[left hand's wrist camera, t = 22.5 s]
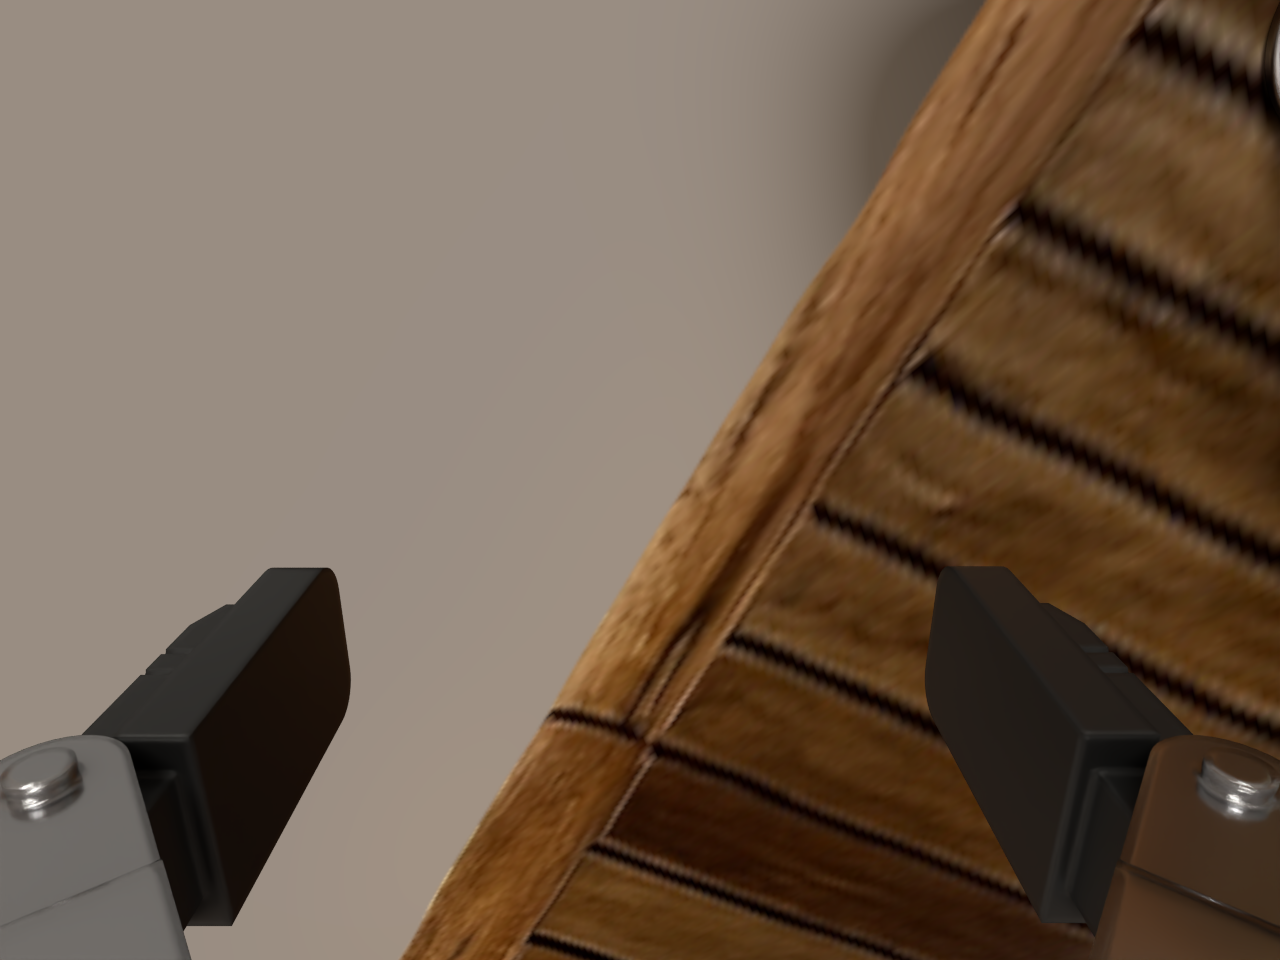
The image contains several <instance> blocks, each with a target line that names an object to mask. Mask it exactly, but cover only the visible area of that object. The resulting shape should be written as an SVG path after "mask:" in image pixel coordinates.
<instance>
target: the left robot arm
mask: <svg viewBox="0 0 1280 960" xmlns="http://www.w3.org/2000/svg"><path fill="white" fill-rule="evenodd" d="M1265 76H1266V84H1267V89H1268V93H1269V96H1270V99H1271V102H1272V105H1273V107H1274V109H1275V111H1276V113H1277V115H1278V116H1279V118H1280V3H1279V5H1278V8H1277V10H1276V12H1275V15H1274V18H1273V21H1272V24H1271V27H1270V31H1269V35H1268V39H1267V46H1266V53H1265ZM350 686H351V673H350V665H349V658H348V650H347V644H346V637H345V629H344V622H343V615H342V608H341V601H340V594H339V587H338V582H337V579H336V576H335V574H334V572H333V571H332V570H331V569H330V568H270V569H268V570H267V571H265V572H264V574H263V575H262V576H261V577H260V578H259V579H258V580H257V581H256V582H255V583H254V584H253V585H252V586H251V587H250V589H249V590H248V591H247V592H246V593H245V594H244V595H243V596H242V597H241V598H240V599H239V600H238V601H237V603H236V604H235V605H225V606H223V607H221V608H219V609H218V610H216V611H214V612H212V613H211V614H209V615H207V616H205V617H204V618H202V619H200V620H198V621H196V622H195V623H193V624H191V625H190V626H189V627H188V628H187V629H186V630H185V631H184V632H183V633H182V634H181V635H180V636H179V637H178V638H177V639H176V640H175V641H174V642H173V643H172V644H171V645H170V646H169V647H168V648H167V649H166V654H161V655H160V656H159V657H158V658H157V659H156V660H155V661H154V662H153V663H152V664H151V665H150V666H149V667H148V668H147V669H146V674H145V675H140V676H139V677H138V678H137V679H136V680H135V681H134V682H133V683H132V684H131V685H130V686H129V687H128V688H127V689H126V690H125V691H124V693H122V694H121V695H120V696H119V697H118V699H116V700H115V701H114V703H113V704H112V705H111V706H110V707H109V708H108V709H107V710H106V711H105V712H104V713H103V714H102V715H101V716H100V717H99V718H98V719H97V720H96V721H95V722H94V723H93V724H92V725H91V726H90V727H89V728H88V729H87V730H86V731H85V732H84V733H83V734H82V735H79V736H71V737H65V738H60V739H55V740H51V741H47V742H44V743H40V744H37V745H34V746H32V747H29V748H26V749H23V750H21V751H19V752H17V753H14V754H12V755H10V756H8V757H6V758H4V759H2V760H0V960H191V957H190V953H189V950H188V946H187V943H186V939H185V936H184V932H183V931H184V929H185V928H186V926H232V924H233V923H234V921H235V919H236V917H237V915H238V913H239V911H240V910H241V908H242V906H243V904H244V902H245V900H246V898H247V897H248V895H249V893H250V891H251V889H252V887H253V885H254V884H255V882H256V880H257V878H258V876H259V874H260V873H261V871H262V869H263V867H264V865H265V863H266V861H267V860H268V858H269V856H270V854H271V852H272V850H273V848H274V847H275V845H276V843H277V841H278V839H279V837H280V835H281V834H282V832H283V830H284V828H285V826H286V824H287V822H288V821H289V819H290V817H291V815H292V813H293V811H294V809H295V808H296V806H297V804H298V802H299V800H300V798H301V797H302V795H303V793H304V791H305V789H306V787H307V785H308V783H309V782H310V780H311V778H312V776H313V774H314V772H315V770H316V769H317V767H318V765H319V763H320V761H321V759H322V758H323V756H324V754H325V752H326V750H327V748H328V746H329V745H330V743H331V741H332V739H333V737H334V735H335V733H336V732H337V730H338V728H339V726H340V724H341V722H342V720H343V718H344V716H345V713H346V710H347V706H348V702H349V696H350ZM925 689H926V697H927V702H928V706H929V710H930V713H931V716H932V718H933V720H934V722H935V724H936V725H937V727H938V729H939V731H940V733H941V735H942V737H943V739H944V740H945V742H946V744H947V746H948V748H949V750H950V752H951V754H952V755H953V757H954V759H955V761H956V763H957V765H958V767H959V769H960V770H961V772H962V774H963V776H964V778H965V780H966V782H967V784H968V785H969V787H970V789H971V791H972V793H973V795H974V797H975V799H976V800H977V802H978V804H979V806H980V808H981V810H982V812H983V814H984V816H985V817H986V819H987V821H988V823H989V825H990V827H991V829H992V831H993V832H994V834H995V836H996V838H997V840H998V842H999V844H1000V846H1001V847H1002V849H1003V851H1004V853H1005V855H1006V857H1007V859H1008V861H1009V862H1010V864H1011V866H1012V868H1013V870H1014V872H1015V874H1016V876H1017V877H1018V879H1019V881H1020V883H1021V885H1022V887H1023V889H1024V891H1025V892H1026V894H1027V896H1028V898H1029V900H1030V902H1031V904H1032V906H1033V907H1034V909H1035V911H1036V913H1037V915H1038V917H1039V919H1040V921H1041V922H1042V923H1087V925H1088V927H1089V928H1090V930H1091V932H1092V933H1093V935H1094V937H1095V939H1094V943H1093V946H1092V950H1091V953H1090V957H1089V960H1280V760H1278V759H1276V758H1274V757H1272V756H1270V755H1268V754H1266V753H1263V752H1261V751H1259V750H1257V749H1254V748H1251V747H1248V746H1246V745H1243V744H1240V743H1236V742H1233V741H1229V740H1225V739H1220V738H1216V737H1209V736H1201V735H1193V734H1192V733H1191V732H1190V731H1189V730H1188V729H1187V728H1186V727H1185V726H1184V725H1183V724H1182V723H1181V722H1180V721H1179V720H1178V719H1177V718H1176V717H1175V716H1174V714H1173V713H1172V712H1171V711H1170V710H1169V709H1168V708H1167V707H1166V706H1165V705H1164V704H1163V703H1162V702H1161V701H1160V700H1159V699H1158V698H1157V697H1156V696H1155V695H1154V694H1153V693H1152V692H1151V691H1150V690H1149V689H1148V688H1147V687H1146V686H1145V685H1144V684H1143V683H1142V682H1141V681H1140V680H1139V679H1138V678H1137V677H1136V676H1135V675H1134V674H1133V673H1128V667H1127V666H1126V665H1125V664H1124V663H1123V662H1122V661H1121V660H1120V659H1119V658H1118V657H1117V656H1116V655H1115V654H1114V653H1109V652H1108V647H1107V646H1106V645H1105V644H1104V643H1103V642H1102V641H1101V640H1100V639H1099V638H1098V637H1097V636H1096V635H1095V634H1094V633H1093V632H1092V631H1091V630H1090V629H1089V628H1088V627H1087V626H1086V625H1085V624H1084V623H1083V622H1081V621H1079V620H1077V619H1076V618H1074V617H1072V616H1070V615H1068V614H1067V613H1065V612H1063V611H1061V610H1060V609H1058V608H1056V607H1054V606H1053V605H1051V604H1049V603H1039V602H1038V601H1037V599H1036V598H1035V597H1034V596H1033V595H1032V594H1031V593H1030V592H1029V591H1028V590H1027V589H1026V587H1025V586H1024V585H1023V584H1022V583H1021V582H1020V581H1019V580H1018V579H1017V578H1016V577H1015V576H1014V574H1013V573H1012V572H1011V571H1010V570H1009V569H1008V568H1006V567H1001V566H947V567H945V568H944V569H943V570H942V572H941V573H940V576H939V579H938V583H937V588H936V596H935V603H934V610H933V617H932V624H931V632H930V639H929V646H928V653H927V660H926V668H925Z"/></svg>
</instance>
